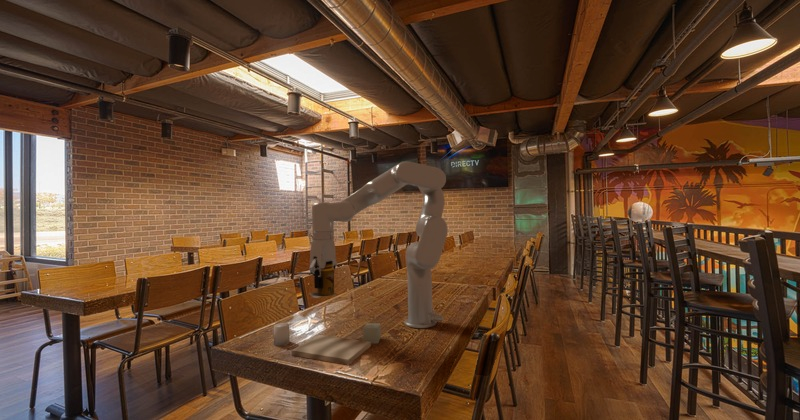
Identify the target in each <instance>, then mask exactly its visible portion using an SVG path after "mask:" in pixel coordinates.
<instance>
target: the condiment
mask: <svg viewBox="0 0 800 420" xmlns="http://www.w3.org/2000/svg"><path fill="white" fill-rule="evenodd" d="M318 268H319V267H318ZM317 271H318V272H319V270H317ZM321 277H323V288H322V289H319V288H316V292H310V293H308V295H310V296H311V297H312V298H314V299H317V298H323V297H324V298H325V297H331V296H338V295H339V294H338V293H336V292H335V273H334V268H333V262H332V261H330V262H326V266H325V268H324V269H323V271H322V276H321Z"/></svg>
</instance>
